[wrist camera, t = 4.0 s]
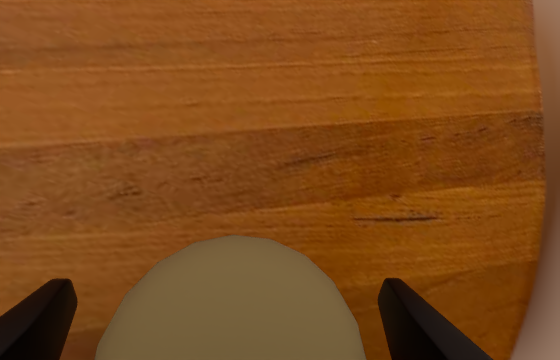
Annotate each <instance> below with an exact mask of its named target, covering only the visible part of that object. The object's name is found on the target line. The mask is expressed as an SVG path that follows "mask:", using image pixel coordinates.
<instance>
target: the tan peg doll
mask: <svg viewBox="0 0 560 360" xmlns="http://www.w3.org/2000/svg"><path fill="white" fill-rule="evenodd" d="M95 360H366V357H365V353H364V349H363V345H362V341H361V337H360V333H359V329H358V324H357V322H356V320H355V318H354V316H353V315H352V313H351V311H350V309H349V308H348V306H347V304H346V303H345V301H344V299H343V297H342V296H341V294H340V292H339V290H338V289H337V287H336V285H335V283H334V282H333V281H332V280H331V279H330V278H329V277H328V276H327V275H326V274H325V273H324V272H323V271H322V270H321V269H319V268H318V267H317V266H316V265H315V264H314V263H313V262H312V261H311V260H310V259H309V258H308V257H307V256H305V255H304V254H302V253H299V252H297V251H295V250H293V249H291V248H289V247H287V246H284V245H282V244H280V243H278V242H276V241H274V240H271V239H265V238H256V237H248V236H239V235H230V236H225V237H220V238H215V239H210V240H205V241H200V242H195V243H193V244H191V245H189V246H187V247H185V248H183V249H182V250H180V251H178V252H176V253H174V254H172V255H171V256H169V257H167V258H165V259H163V260H161V261H160V262H158V263H157V264H156V265H155V266H154V267H153V268H152V269H151V270H150V271H149V272H148V273H147V274H146V275H145V276H144V277H143V278H142V279H141V280H140V281H139V282H138V283H137V284H136V285H135V286H134V287H133V288H132V289H131V290H130V291H129V292H128V293H127V294H126V295H125V297H124V298H123V300H122V302H121V304H120V306H119V307H118V309H117V311H116V313H115V315H114V316H113V318H112V320H111V322H110V324H109V325H108V327H107V329H106V331H105V333H104V335H103V336H102V338H101V340H100V342H99V344H98V346H97V351H96V355H95Z"/></svg>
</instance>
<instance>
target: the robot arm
mask: <svg viewBox="0 0 560 360" xmlns="http://www.w3.org/2000/svg"><path fill="white" fill-rule="evenodd" d="M378 306H379V310H380V314H381V318H382V322H383V327H384V331H385V335H386V339H387V343H388V347H389V351H390V355H391V358H392V360H493V359H492V358H491V357H490V356H489V355H487V354H486V353H485V352H484V351H483V350H482V349H480V348H479V347H478V346H477V345H476V344H475V343H474V342H472V341H471V340H470V339H469V338H468V337H467V336H465V335H464V334H463V333H462V332H461V331H460V330H459V329H457V328H456V327H455V326H454V325H453V324H452V323H450V322H449V321H448V320H447V319H446V318H445V317H444V316H442V315H441V314H440V313H439V312H438V311H437V310H435V309H434V308H433V307H432V306H431V305H430V304H429V303H427V302H426V301H425V300H424V299H423V298H422V297H420V296H419V295H418V294H417V293H416V292H415V291H414V290H412V289H411V288H410V287H409V286H408V285H407V284H405V283H404V282H403V281H402V280H401V279H399V278H386V279H385V280H384V282H383V284H382V287H381V290H380V293H379V295H378ZM76 308H77V297H76V293H75V290H74V287H73V284H72V282H71V280H70V279H52V280H50V281H48V282H47V283H46V284H44V285H43V286H42V287H40V288H39V289H37V290H36V291H35V292H33V293H32V294H31V295H29V296H28V297H26V298H25V299H24V300H22V301H21V302H20V303H18V304H17V305H16V306H14V307H13V308H11V309H10V310H9V311H7V312H6V313H5V314H3V315H2V316H0V360H59V359H60V356H61V353H62V350H63V347H64V344H65V341H66V338H67V335H68V332H69V329H70V326H71V323H72V320H73V317H74V314H75V311H76Z"/></svg>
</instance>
